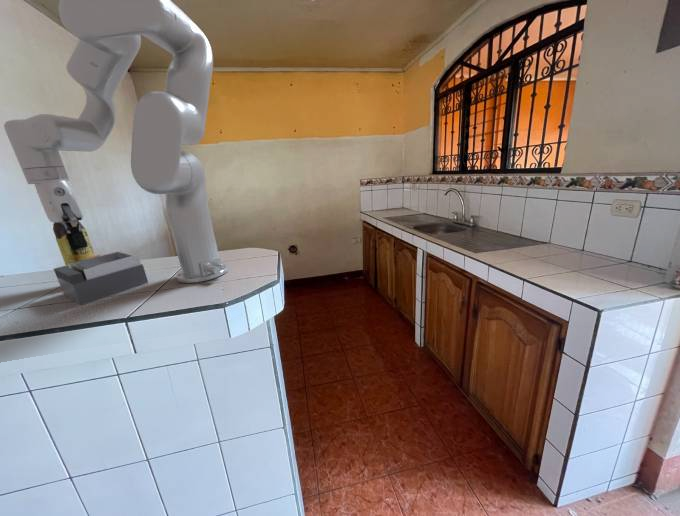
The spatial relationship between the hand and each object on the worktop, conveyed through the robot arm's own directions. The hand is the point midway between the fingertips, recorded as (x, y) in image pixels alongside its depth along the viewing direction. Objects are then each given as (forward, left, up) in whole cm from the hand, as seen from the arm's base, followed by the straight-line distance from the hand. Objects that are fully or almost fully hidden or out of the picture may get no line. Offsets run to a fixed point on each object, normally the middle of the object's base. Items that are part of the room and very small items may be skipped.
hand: (75, 246), depth 76 cm
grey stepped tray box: (-11, -1, -10) cm, 15 cm away
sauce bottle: (0, 0, -8) cm, 8 cm away
